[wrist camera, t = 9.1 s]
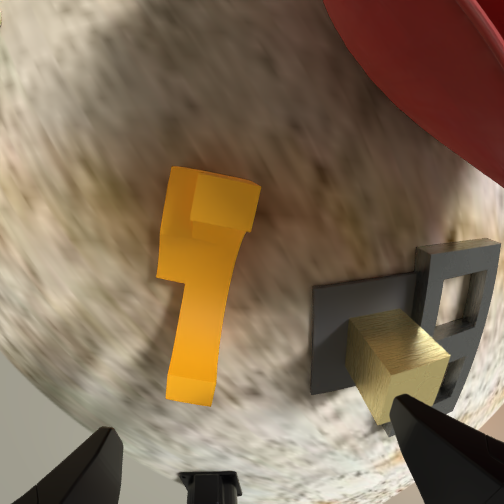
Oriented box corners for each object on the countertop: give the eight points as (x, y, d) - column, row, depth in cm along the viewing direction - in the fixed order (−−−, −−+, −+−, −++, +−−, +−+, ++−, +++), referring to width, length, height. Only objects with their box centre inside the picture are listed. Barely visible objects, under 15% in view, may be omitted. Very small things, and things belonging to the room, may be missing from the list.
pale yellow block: (392, 354, 22) (432, 405, 15) (344, 365, 22) (377, 425, 15) (399, 308, 21) (450, 355, 14) (349, 318, 21) (391, 375, 14)
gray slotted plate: (444, 401, 26) (452, 411, 24) (381, 424, 26) (388, 437, 24) (486, 237, 20) (500, 243, 19) (416, 247, 20) (431, 254, 18)
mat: (409, 367, 23) (411, 370, 23) (310, 392, 23) (311, 395, 23) (428, 269, 21) (430, 270, 20) (312, 286, 20) (314, 289, 20)
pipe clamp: (181, 166, 17) (157, 165, 11) (249, 180, 18) (261, 186, 12) (156, 334, 20) (135, 391, 14) (213, 345, 21) (210, 406, 15)
